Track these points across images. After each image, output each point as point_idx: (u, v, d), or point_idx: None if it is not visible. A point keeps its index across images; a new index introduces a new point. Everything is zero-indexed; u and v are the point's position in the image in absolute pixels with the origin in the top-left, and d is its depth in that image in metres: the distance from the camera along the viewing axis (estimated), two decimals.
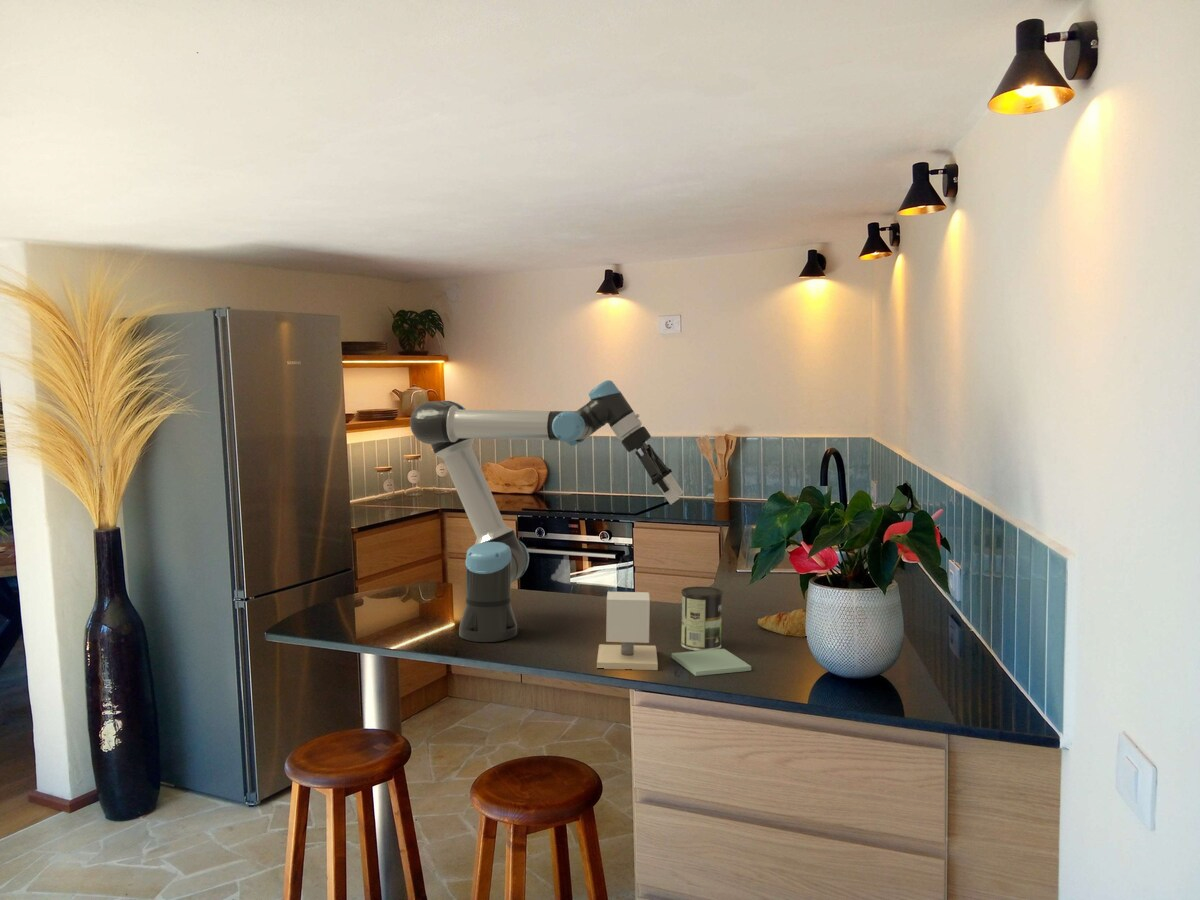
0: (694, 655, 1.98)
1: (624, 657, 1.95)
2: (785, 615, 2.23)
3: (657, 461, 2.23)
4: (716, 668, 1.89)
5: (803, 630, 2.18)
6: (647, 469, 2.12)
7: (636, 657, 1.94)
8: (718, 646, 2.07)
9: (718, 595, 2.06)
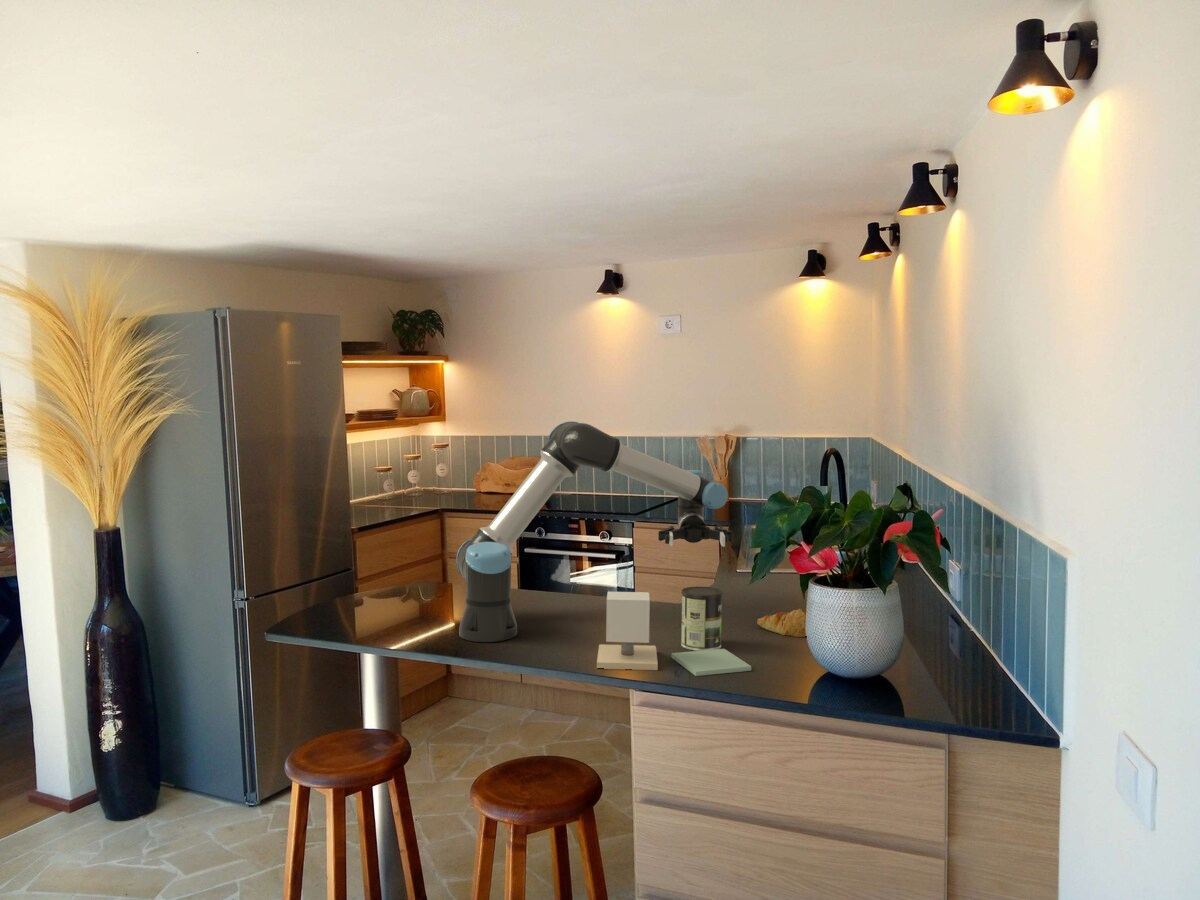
0: (694, 655, 1.98)
1: (624, 657, 1.95)
2: (784, 615, 2.23)
3: (681, 536, 2.29)
4: (716, 668, 1.89)
5: (801, 630, 2.18)
6: None
7: (636, 657, 1.94)
8: (718, 646, 2.07)
9: (718, 595, 2.06)
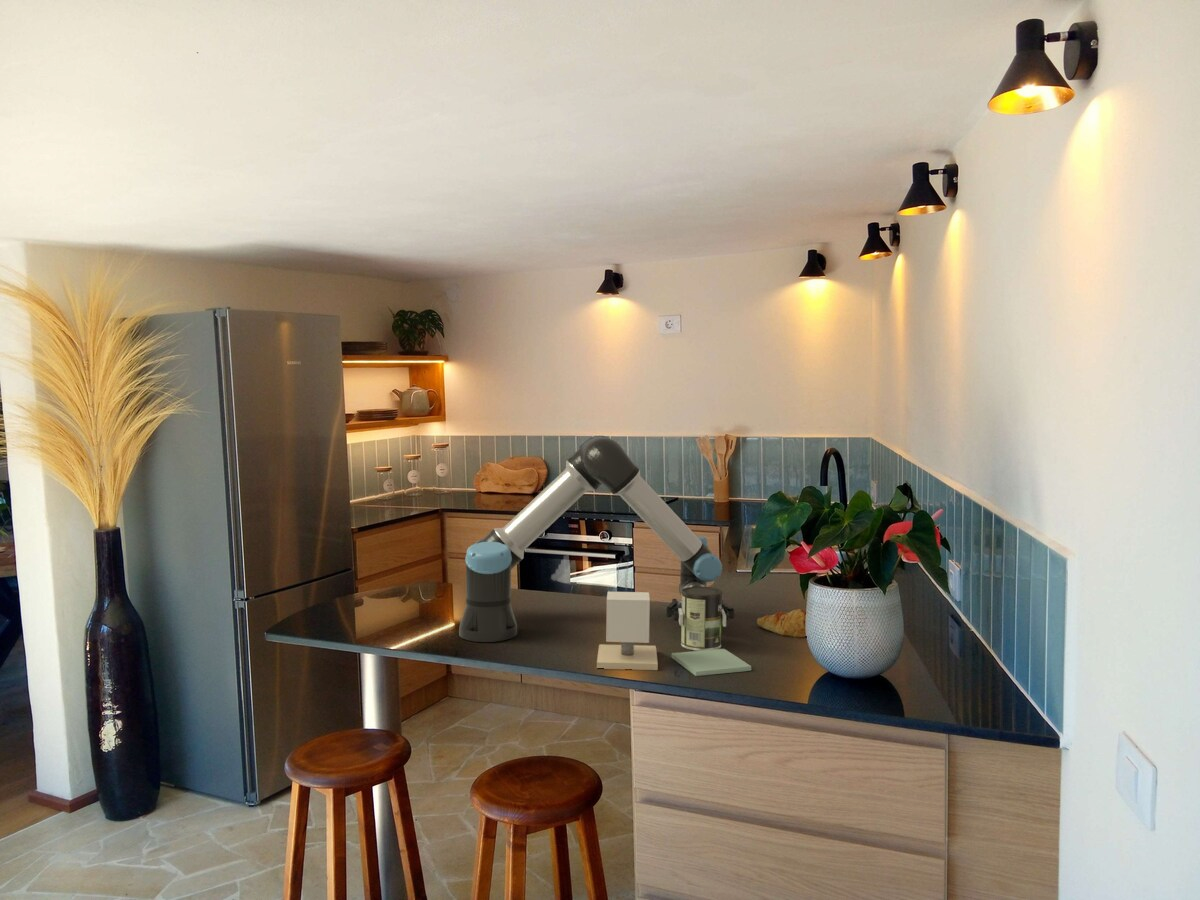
0: (694, 655, 1.98)
1: (624, 657, 1.95)
2: (783, 615, 2.23)
3: None
4: (716, 668, 1.89)
5: (800, 630, 2.18)
6: None
7: (636, 657, 1.94)
8: (718, 646, 2.07)
9: (718, 595, 2.06)
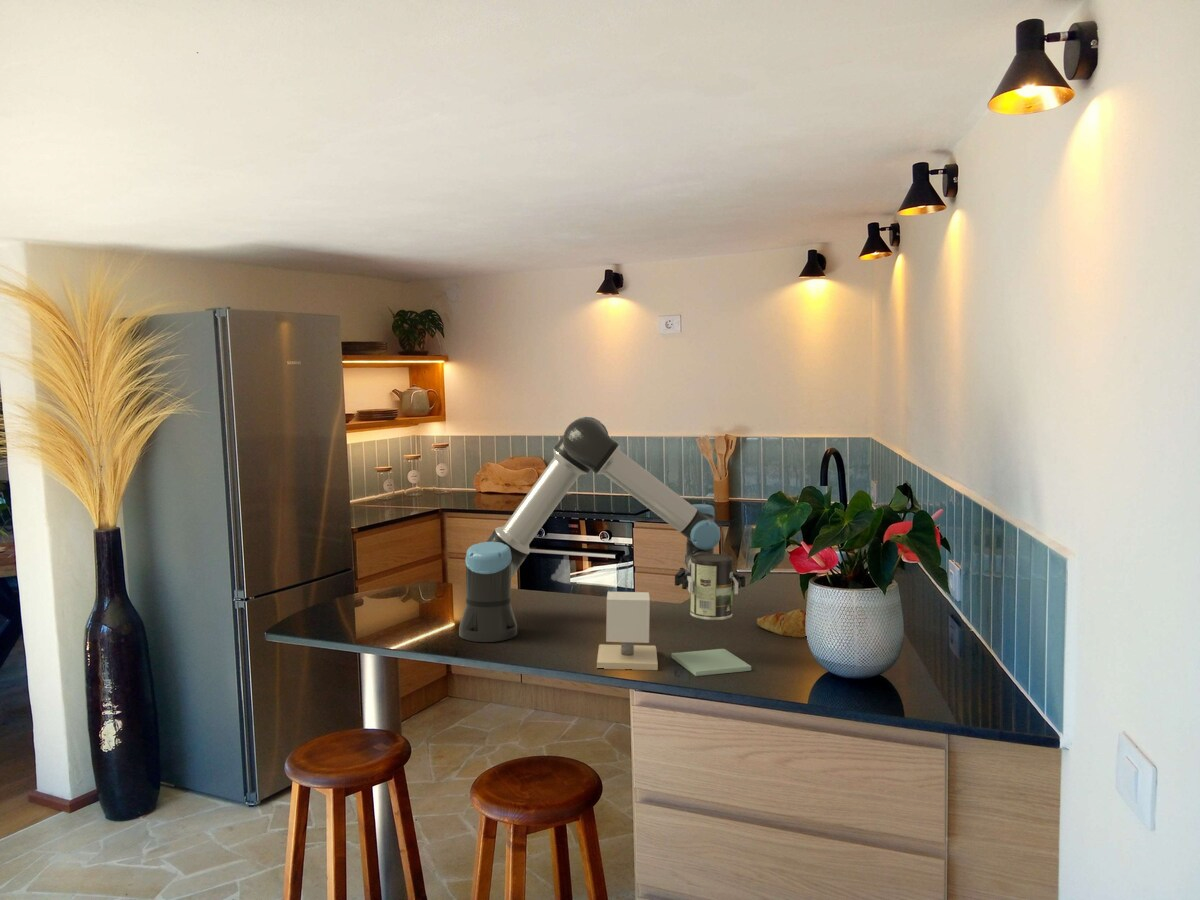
0: (694, 655, 1.98)
1: (624, 657, 1.95)
2: (783, 615, 2.23)
3: None
4: (716, 668, 1.89)
5: (799, 630, 2.17)
6: None
7: (636, 657, 1.94)
8: (729, 615, 1.98)
9: (729, 561, 1.96)
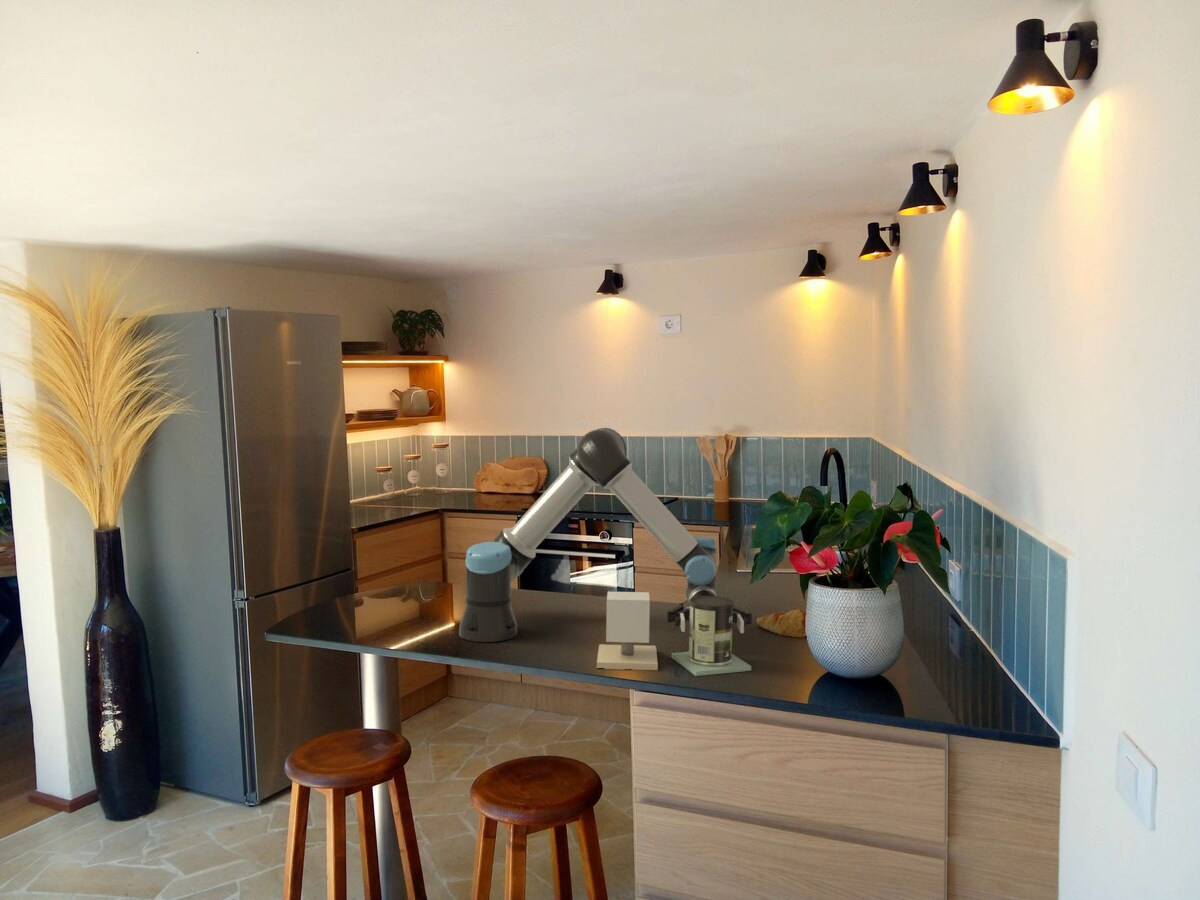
0: None
1: (624, 657, 1.95)
2: (782, 615, 2.23)
3: None
4: (716, 668, 1.89)
5: (798, 630, 2.17)
6: None
7: (636, 657, 1.94)
8: (728, 660, 1.92)
9: (729, 606, 1.91)
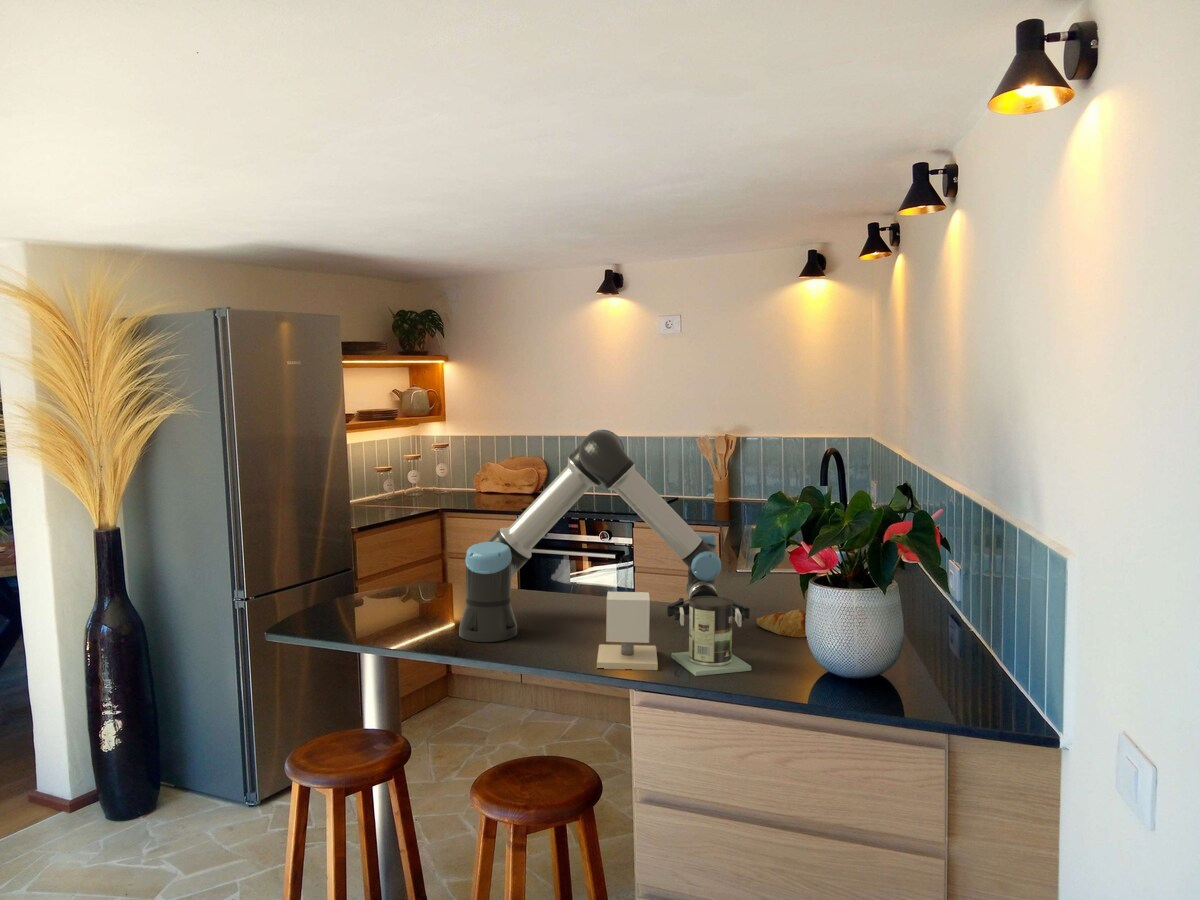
0: None
1: (624, 657, 1.95)
2: (782, 615, 2.23)
3: None
4: (716, 668, 1.89)
5: (798, 630, 2.17)
6: None
7: (636, 657, 1.94)
8: (728, 660, 1.92)
9: (728, 606, 1.91)
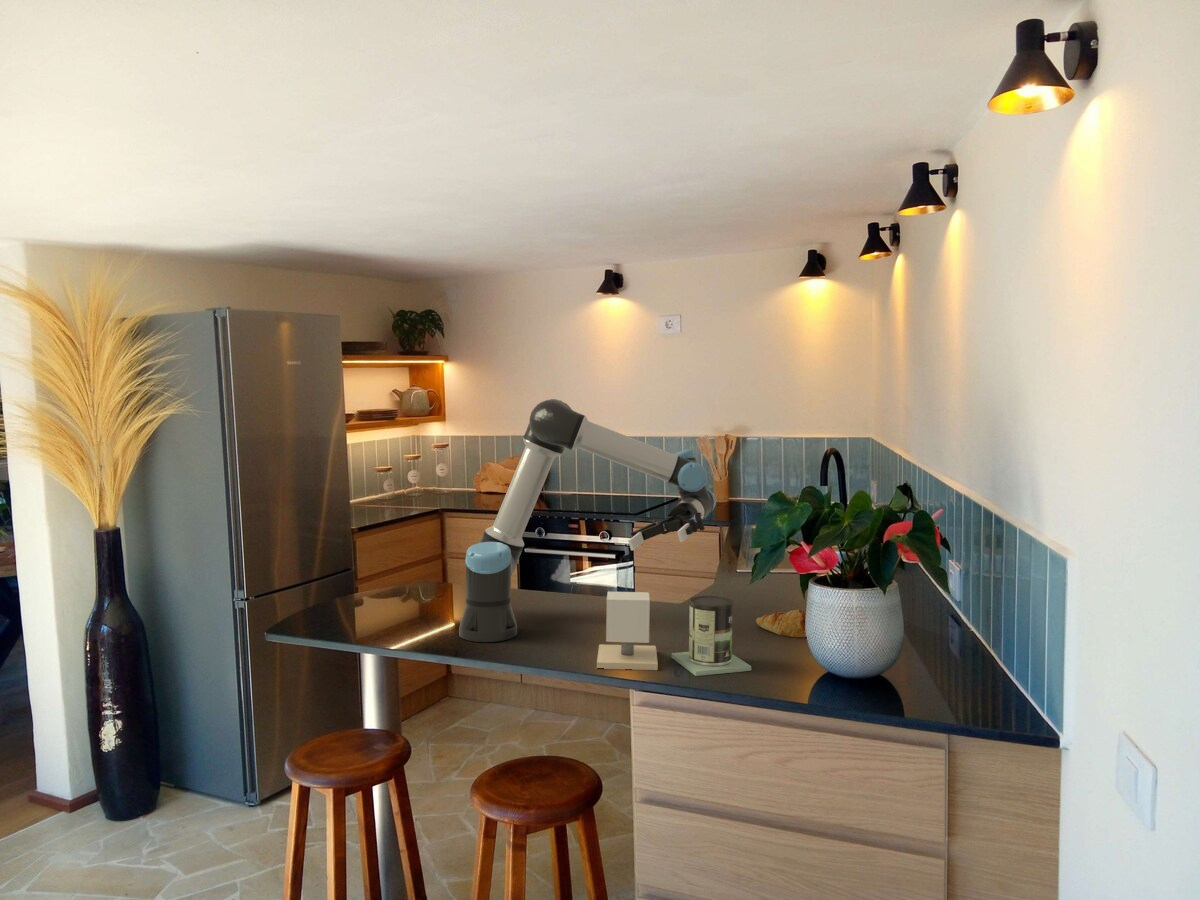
0: None
1: (624, 657, 1.95)
2: (781, 615, 2.23)
3: (660, 532, 2.14)
4: (716, 668, 1.89)
5: (797, 630, 2.17)
6: (701, 518, 2.08)
7: (636, 657, 1.94)
8: (728, 660, 1.92)
9: (728, 606, 1.91)
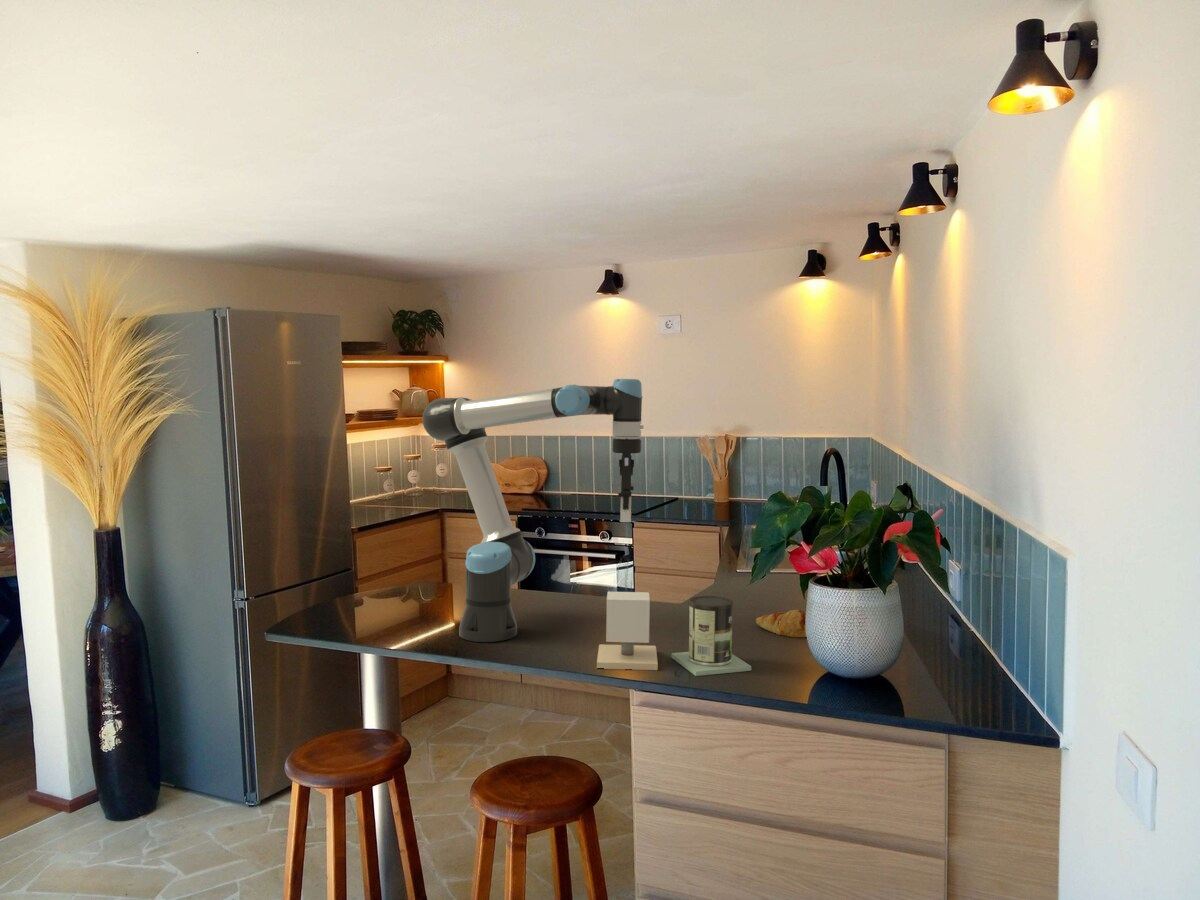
0: None
1: (624, 657, 1.95)
2: (781, 615, 2.23)
3: None
4: (716, 668, 1.89)
5: (796, 630, 2.17)
6: (623, 480, 2.09)
7: (636, 657, 1.94)
8: (728, 660, 1.92)
9: (728, 606, 1.91)
